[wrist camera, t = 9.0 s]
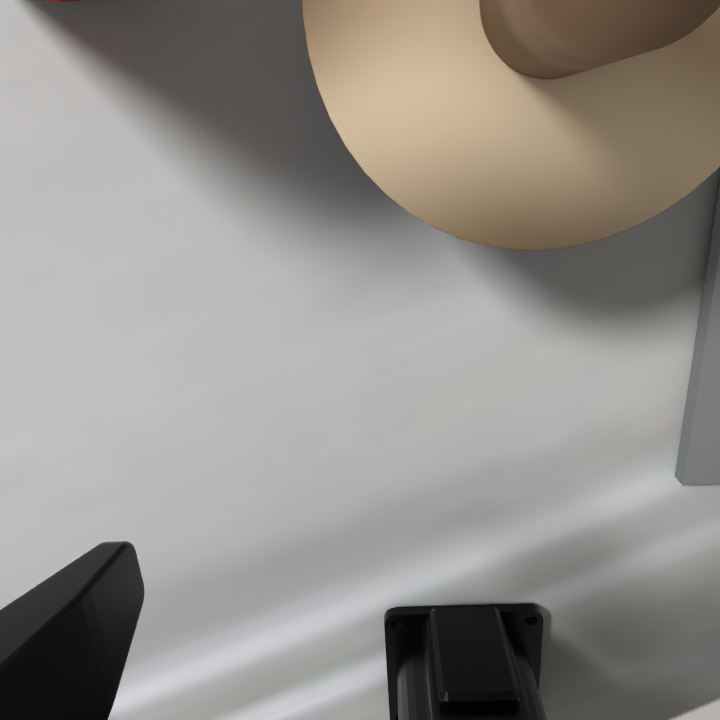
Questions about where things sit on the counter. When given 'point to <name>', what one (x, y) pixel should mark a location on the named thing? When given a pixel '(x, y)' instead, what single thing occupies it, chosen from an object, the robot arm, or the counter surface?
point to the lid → (524, 109)
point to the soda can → (61, 0)
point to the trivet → (704, 382)
